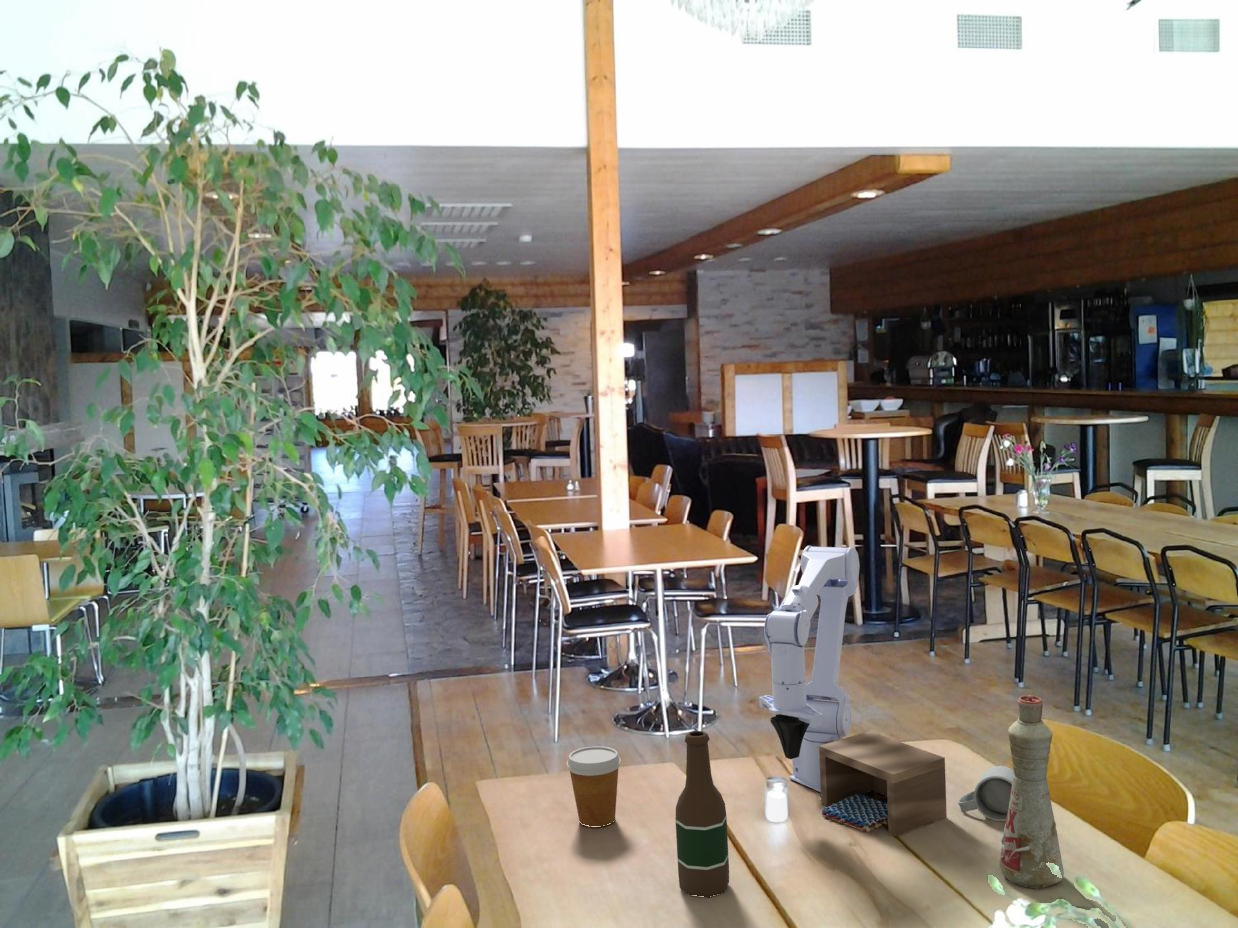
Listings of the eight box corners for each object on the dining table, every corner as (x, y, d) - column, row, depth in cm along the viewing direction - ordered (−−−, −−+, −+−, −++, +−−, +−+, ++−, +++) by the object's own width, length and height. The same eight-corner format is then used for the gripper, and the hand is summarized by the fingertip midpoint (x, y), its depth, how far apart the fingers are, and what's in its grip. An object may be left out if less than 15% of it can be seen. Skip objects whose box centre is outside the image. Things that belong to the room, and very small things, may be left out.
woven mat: (906, 817, 198) (906, 805, 197) (867, 836, 191) (866, 824, 191) (858, 801, 206) (858, 790, 205) (819, 819, 199) (818, 807, 199)
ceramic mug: (1025, 804, 199) (1023, 761, 198) (1022, 823, 191) (1020, 778, 191) (961, 800, 203) (959, 757, 202) (956, 818, 195) (954, 774, 195)
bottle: (1057, 896, 166) (1053, 707, 163) (993, 883, 171) (988, 699, 168) (1069, 871, 173) (1066, 690, 171) (1007, 860, 178) (1003, 683, 176)
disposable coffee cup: (561, 828, 200) (557, 761, 199) (583, 807, 209) (579, 743, 207) (612, 834, 196) (608, 766, 195) (632, 812, 205) (628, 747, 204)
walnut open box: (821, 803, 204) (819, 745, 203) (871, 786, 211) (869, 731, 210) (895, 836, 189) (893, 774, 188) (946, 817, 195) (944, 757, 194)
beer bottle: (675, 877, 179) (667, 727, 176) (725, 873, 179) (717, 723, 177) (682, 901, 171) (674, 744, 169) (734, 896, 172) (726, 739, 169)
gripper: (744, 675, 202) (747, 751, 203) (798, 694, 189) (802, 774, 191) (775, 668, 205) (778, 742, 207) (831, 685, 193) (834, 764, 194)
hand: (792, 756), depth 199 cm, fingers closed
